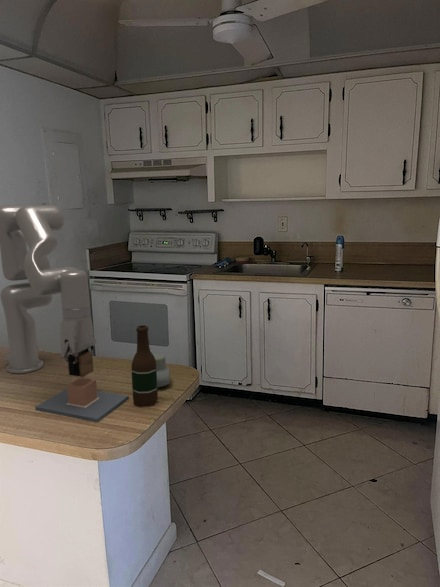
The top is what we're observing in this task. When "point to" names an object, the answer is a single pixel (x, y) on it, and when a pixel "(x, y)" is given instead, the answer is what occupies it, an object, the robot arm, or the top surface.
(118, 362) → the top surface
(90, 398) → the terracotta block
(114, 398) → the board
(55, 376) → the top surface
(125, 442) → the top surface
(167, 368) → the air freshener
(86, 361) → the walnut block
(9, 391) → the top surface
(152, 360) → the beer bottle
